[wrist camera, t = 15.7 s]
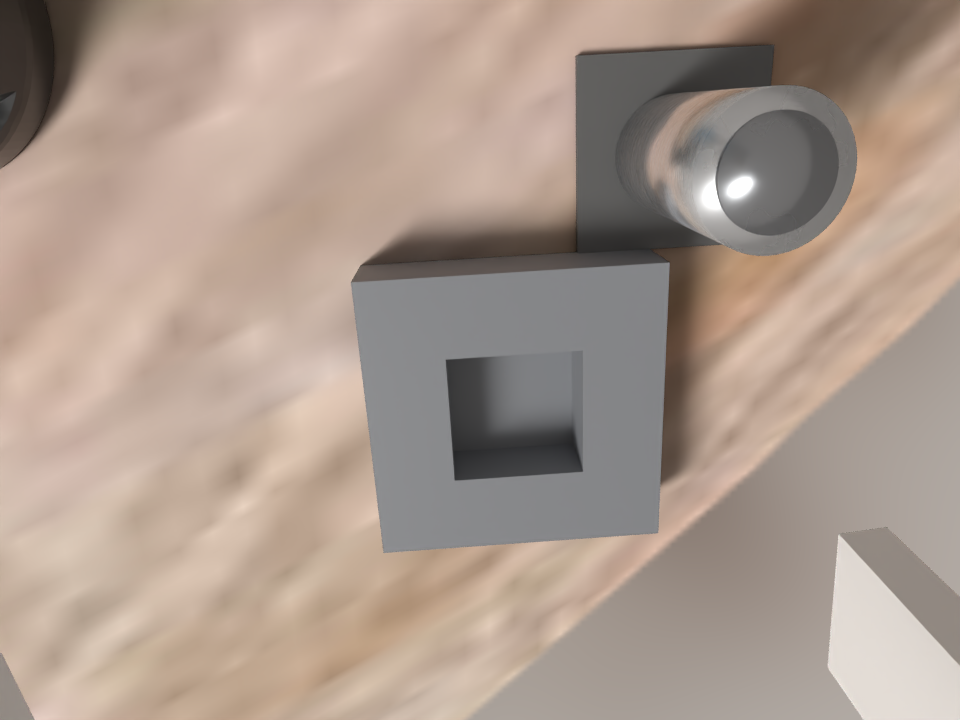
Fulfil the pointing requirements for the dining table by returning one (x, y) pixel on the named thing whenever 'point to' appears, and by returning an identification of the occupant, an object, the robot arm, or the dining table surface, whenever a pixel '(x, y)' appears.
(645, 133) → the end cap
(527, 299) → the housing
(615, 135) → the mat
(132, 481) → the dining table surface
